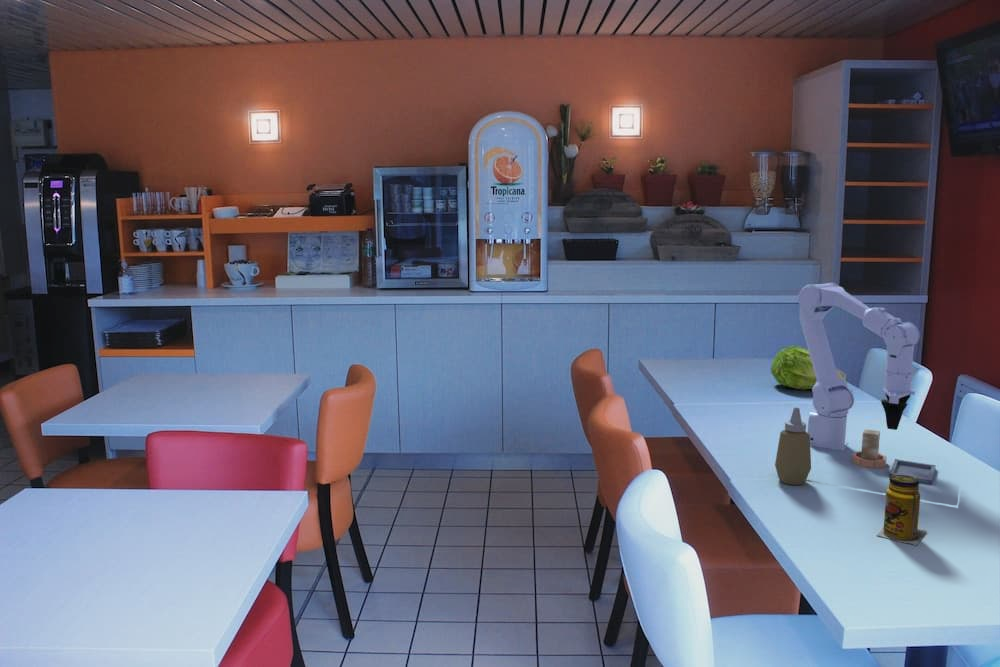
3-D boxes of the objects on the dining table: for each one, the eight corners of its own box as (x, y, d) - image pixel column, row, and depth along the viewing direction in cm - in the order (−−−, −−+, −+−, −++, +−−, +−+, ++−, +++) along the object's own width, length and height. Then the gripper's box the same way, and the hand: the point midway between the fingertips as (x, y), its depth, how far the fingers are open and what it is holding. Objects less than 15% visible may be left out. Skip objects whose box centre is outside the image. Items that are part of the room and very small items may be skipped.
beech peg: (860, 463, 199) (862, 432, 198) (862, 459, 202) (864, 429, 201) (875, 465, 197) (878, 434, 196) (877, 461, 200) (880, 431, 199)
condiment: (876, 536, 159) (880, 479, 156) (888, 522, 165) (892, 467, 163) (916, 546, 154) (921, 487, 152) (926, 532, 160) (932, 475, 158)
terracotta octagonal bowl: (850, 466, 199) (851, 457, 198) (855, 457, 205) (855, 449, 204) (883, 471, 195) (884, 462, 194) (887, 462, 201) (887, 454, 201)
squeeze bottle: (793, 489, 183) (797, 414, 180) (766, 478, 190) (770, 406, 187) (817, 483, 187) (822, 409, 184) (790, 473, 194) (795, 401, 191)
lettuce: (828, 395, 286) (838, 412, 271) (763, 371, 287) (770, 387, 272) (847, 359, 281) (858, 375, 266) (781, 335, 282) (789, 349, 267)
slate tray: (888, 479, 189) (889, 473, 189) (894, 464, 199) (894, 459, 199) (931, 486, 185) (932, 480, 184) (935, 471, 195) (935, 465, 194)
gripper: (914, 379, 187) (909, 435, 190) (918, 368, 199) (913, 420, 202) (881, 376, 191) (877, 430, 193) (887, 364, 203) (883, 416, 205)
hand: (893, 425), depth 198 cm, fingers open, 7 cm apart
